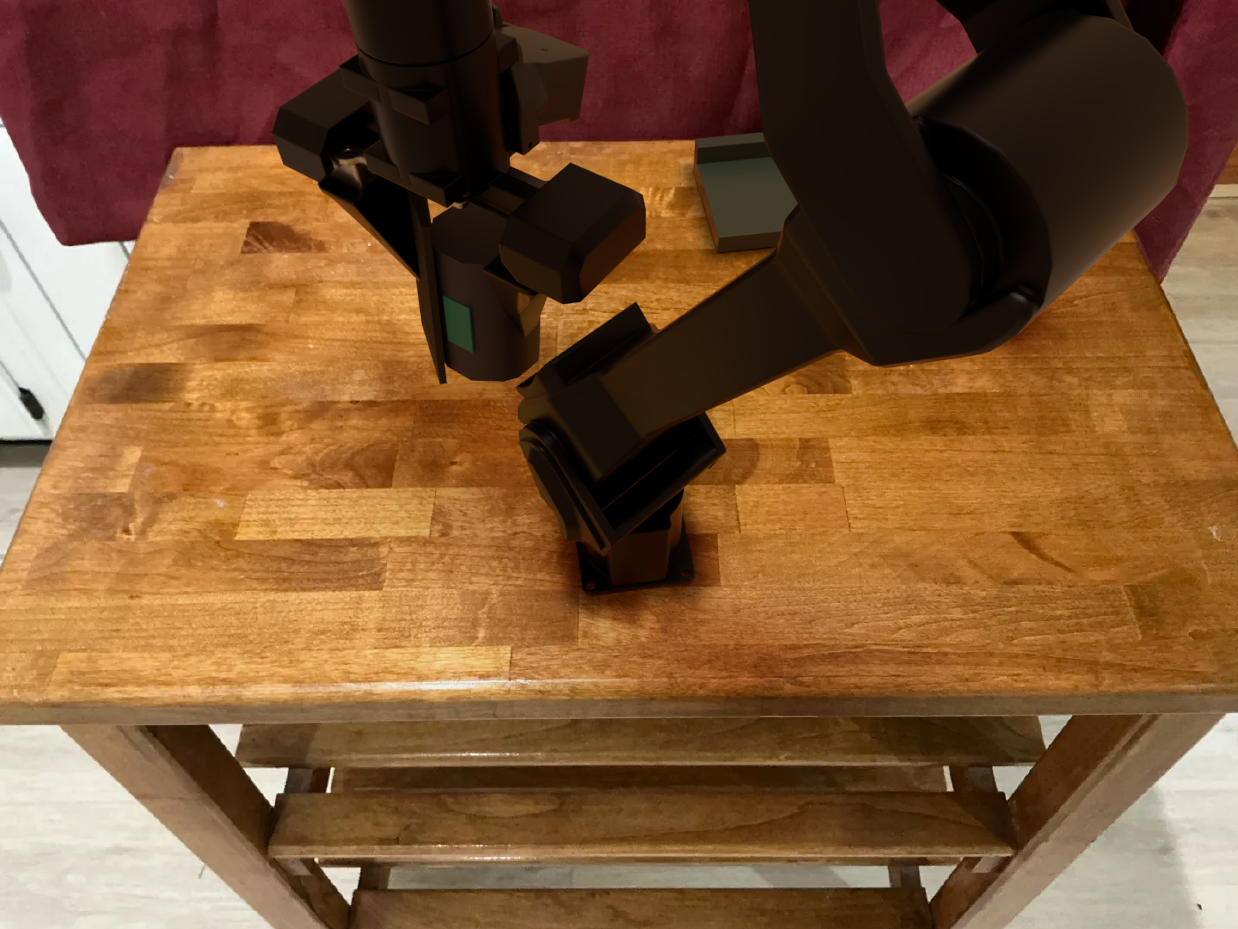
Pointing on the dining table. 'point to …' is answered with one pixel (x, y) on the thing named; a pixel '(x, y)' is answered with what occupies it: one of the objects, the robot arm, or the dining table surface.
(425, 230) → the speaker
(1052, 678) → the dining table surface
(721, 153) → the dark grey square base
